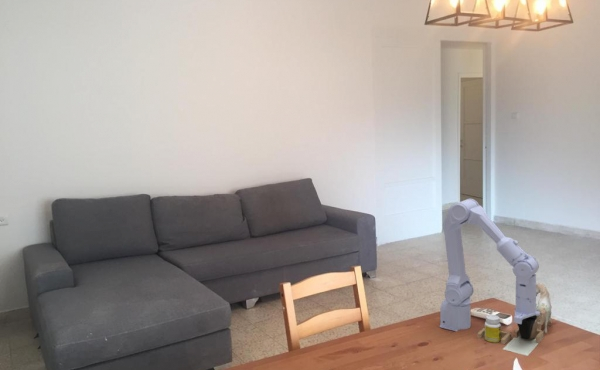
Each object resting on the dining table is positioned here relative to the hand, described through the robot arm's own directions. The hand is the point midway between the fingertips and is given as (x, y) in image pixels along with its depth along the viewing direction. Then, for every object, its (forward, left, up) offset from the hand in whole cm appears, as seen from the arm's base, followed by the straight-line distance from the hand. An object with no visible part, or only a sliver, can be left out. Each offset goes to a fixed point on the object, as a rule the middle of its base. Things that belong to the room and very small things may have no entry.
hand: (525, 338), depth 154 cm
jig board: (-6, -1, -2) cm, 6 cm away
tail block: (0, +3, 0) cm, 3 cm away
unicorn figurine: (-2, +15, -2) cm, 15 cm away
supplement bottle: (-8, -4, -2) cm, 10 cm away
